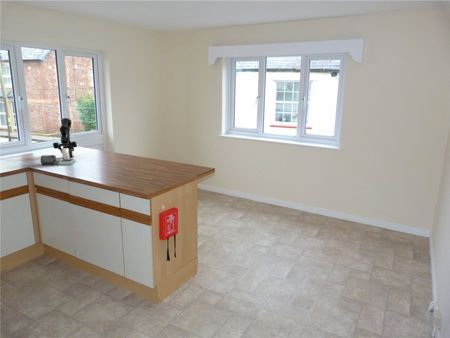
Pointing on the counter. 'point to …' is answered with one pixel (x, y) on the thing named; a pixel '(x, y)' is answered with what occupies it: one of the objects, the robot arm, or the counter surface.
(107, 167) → the counter surface
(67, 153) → the pump
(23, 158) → the counter surface
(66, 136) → the robot arm
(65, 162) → the motor
